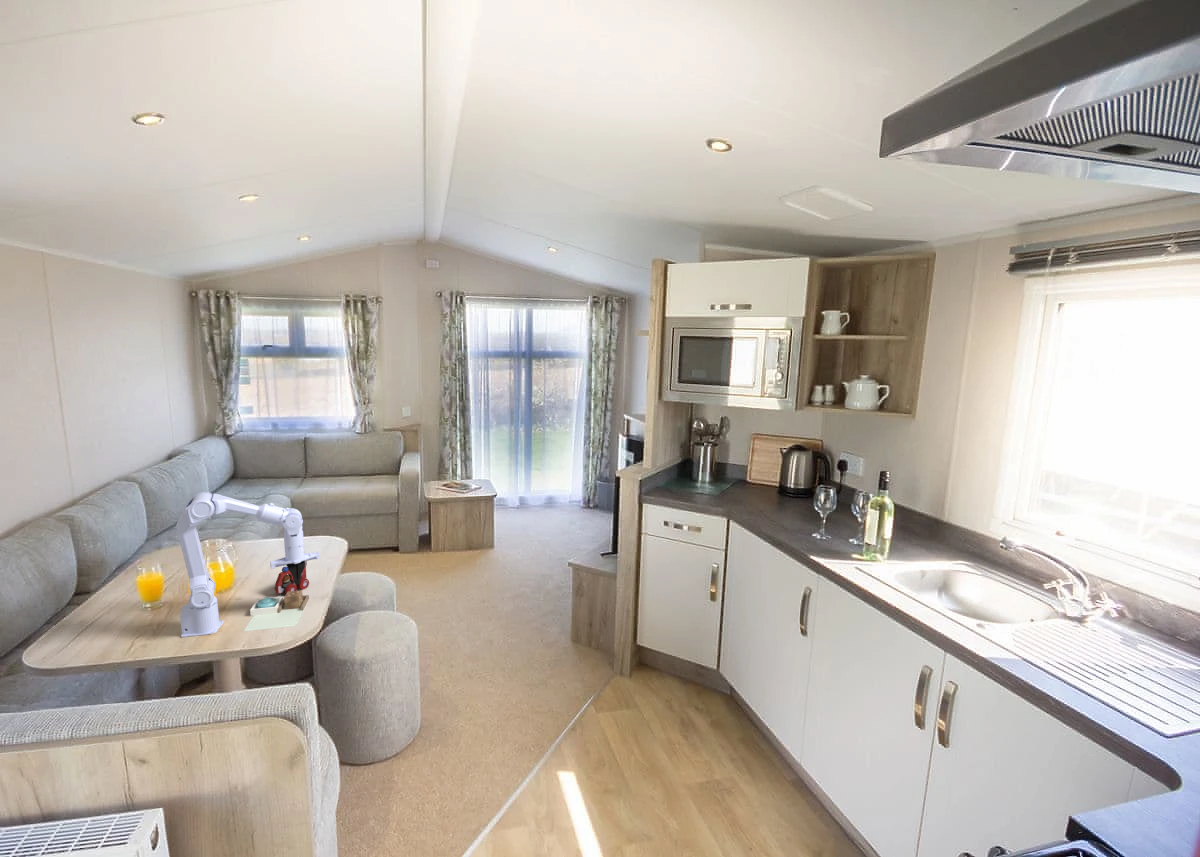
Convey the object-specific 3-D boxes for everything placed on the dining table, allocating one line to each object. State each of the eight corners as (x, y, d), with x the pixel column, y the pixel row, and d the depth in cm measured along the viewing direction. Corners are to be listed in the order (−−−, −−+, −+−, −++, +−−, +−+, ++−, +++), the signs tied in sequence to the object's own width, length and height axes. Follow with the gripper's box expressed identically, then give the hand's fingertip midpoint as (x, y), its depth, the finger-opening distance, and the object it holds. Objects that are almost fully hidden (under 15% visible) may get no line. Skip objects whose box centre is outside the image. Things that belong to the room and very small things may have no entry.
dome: (255, 612, 185) (254, 602, 185) (260, 604, 191) (259, 594, 190) (274, 610, 187) (273, 600, 186) (278, 602, 192) (278, 593, 192)
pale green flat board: (240, 633, 175) (239, 625, 174) (260, 603, 194) (259, 596, 193) (295, 627, 179) (295, 619, 178) (310, 599, 198) (309, 592, 197)
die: (285, 609, 189) (284, 596, 188) (288, 603, 193) (287, 590, 192) (300, 608, 190) (299, 595, 189) (303, 602, 194) (302, 589, 194)
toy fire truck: (269, 595, 200) (267, 568, 198) (300, 582, 211) (298, 556, 210) (283, 599, 197) (281, 572, 196) (313, 585, 209) (311, 559, 207)
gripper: (271, 553, 178) (274, 593, 181) (320, 544, 187) (322, 581, 189) (268, 547, 184) (271, 585, 186) (316, 538, 193) (318, 574, 195)
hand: (297, 583), depth 188 cm, fingers closed
